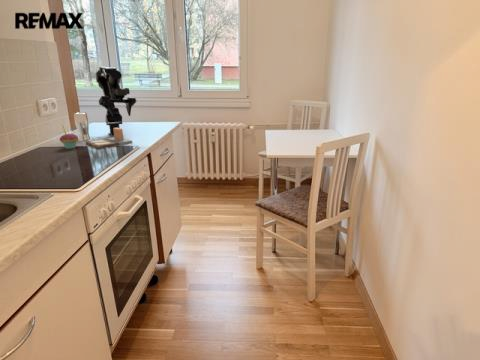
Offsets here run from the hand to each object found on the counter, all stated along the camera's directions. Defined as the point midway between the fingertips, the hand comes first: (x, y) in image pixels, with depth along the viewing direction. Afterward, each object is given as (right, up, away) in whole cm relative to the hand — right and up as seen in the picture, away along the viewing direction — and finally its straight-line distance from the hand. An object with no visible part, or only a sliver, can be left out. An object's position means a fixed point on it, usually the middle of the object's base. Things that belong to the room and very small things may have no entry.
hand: (121, 115), depth 178 cm
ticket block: (-10, -16, -2) cm, 19 cm away
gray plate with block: (-3, -14, +4) cm, 15 cm away
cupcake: (-24, -18, -7) cm, 31 cm away
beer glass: (-25, -12, +11) cm, 30 cm away
